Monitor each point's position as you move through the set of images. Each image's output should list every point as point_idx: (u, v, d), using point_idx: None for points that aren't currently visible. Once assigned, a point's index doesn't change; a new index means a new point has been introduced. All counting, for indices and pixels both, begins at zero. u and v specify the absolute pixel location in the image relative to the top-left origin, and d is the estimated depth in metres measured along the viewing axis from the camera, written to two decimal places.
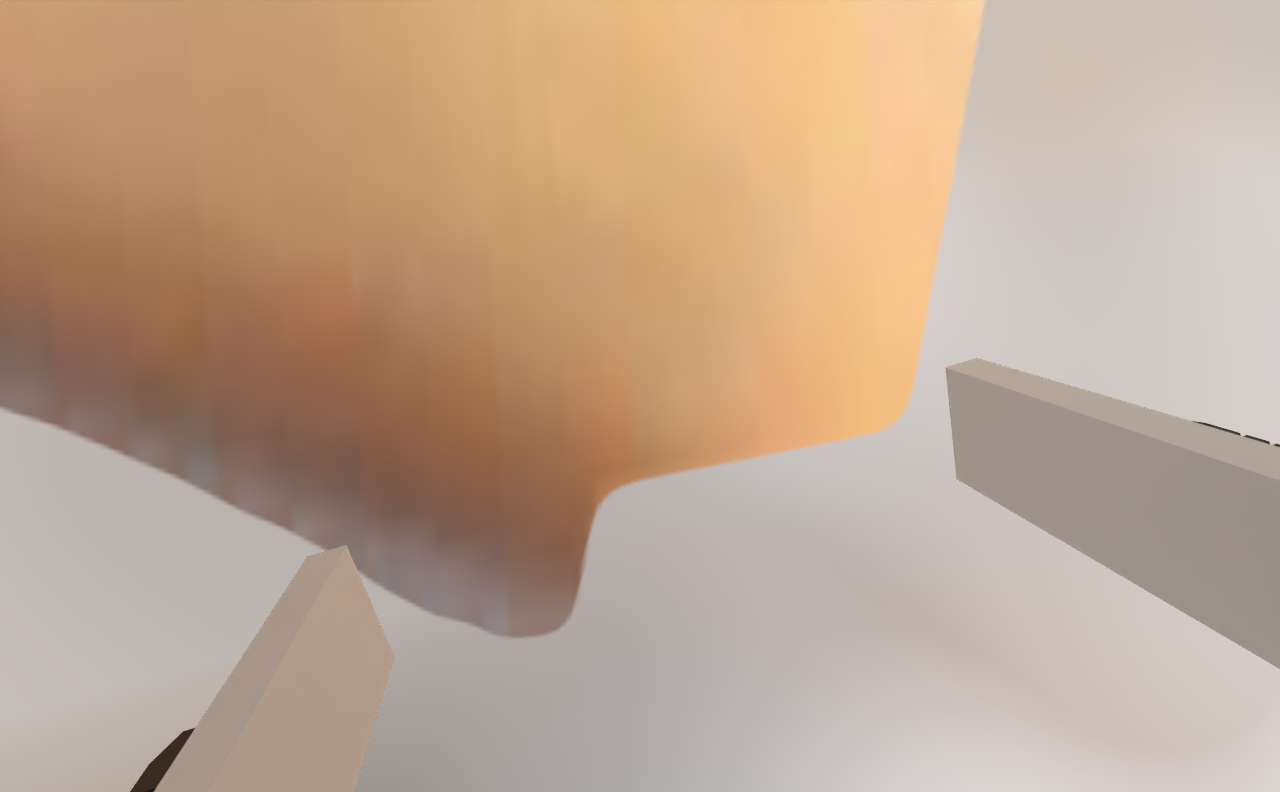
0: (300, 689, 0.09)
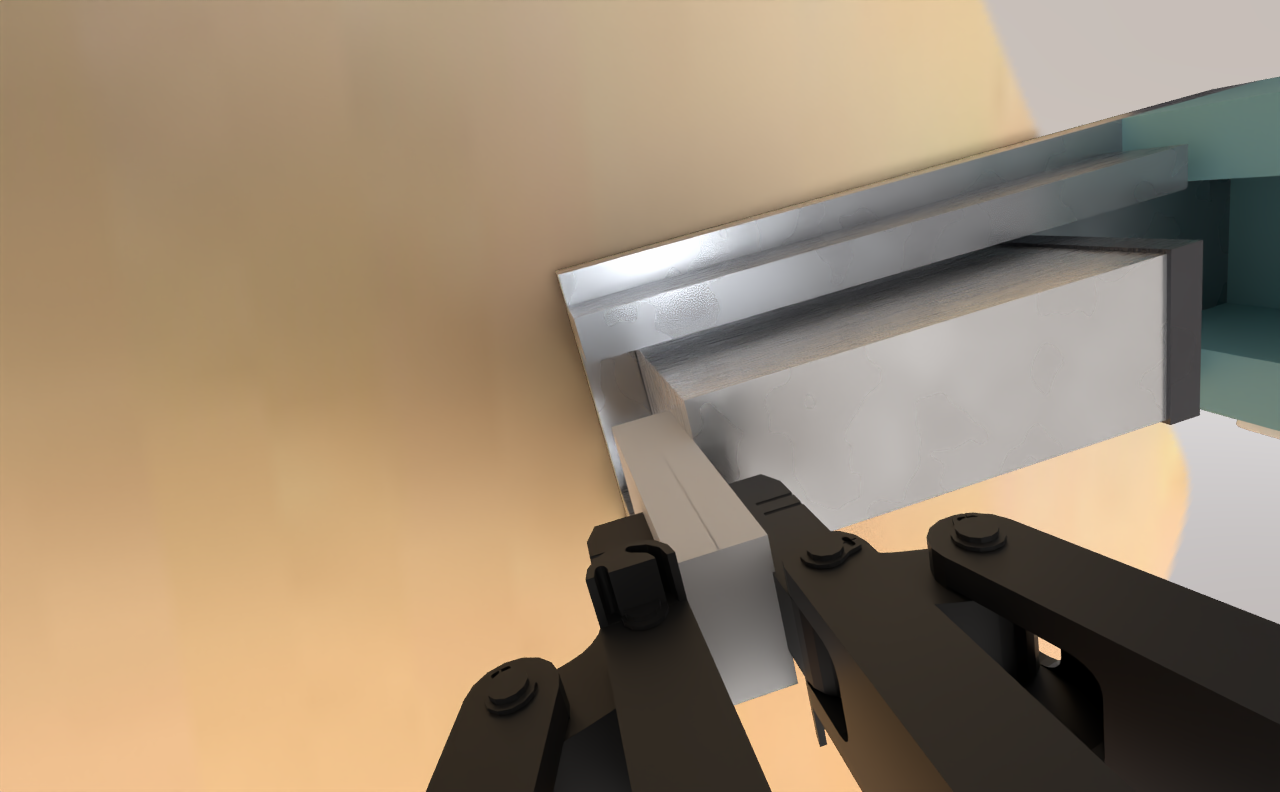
0: None
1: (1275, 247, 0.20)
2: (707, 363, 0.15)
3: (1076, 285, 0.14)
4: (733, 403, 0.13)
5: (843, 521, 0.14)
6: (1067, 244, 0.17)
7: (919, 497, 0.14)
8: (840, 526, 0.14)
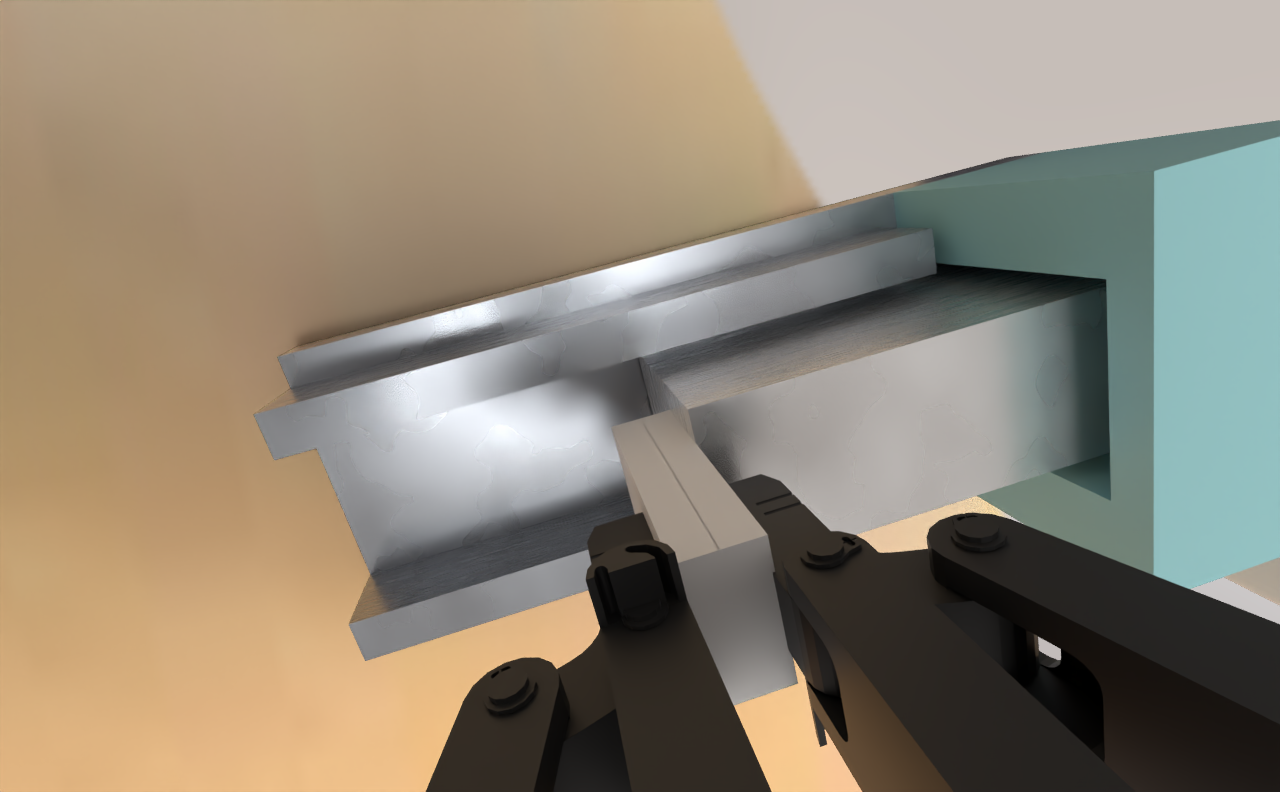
0: None
1: None
2: (711, 371, 0.15)
3: (1081, 297, 0.14)
4: (737, 412, 0.13)
5: (846, 531, 0.14)
6: None
7: (922, 508, 0.14)
8: None
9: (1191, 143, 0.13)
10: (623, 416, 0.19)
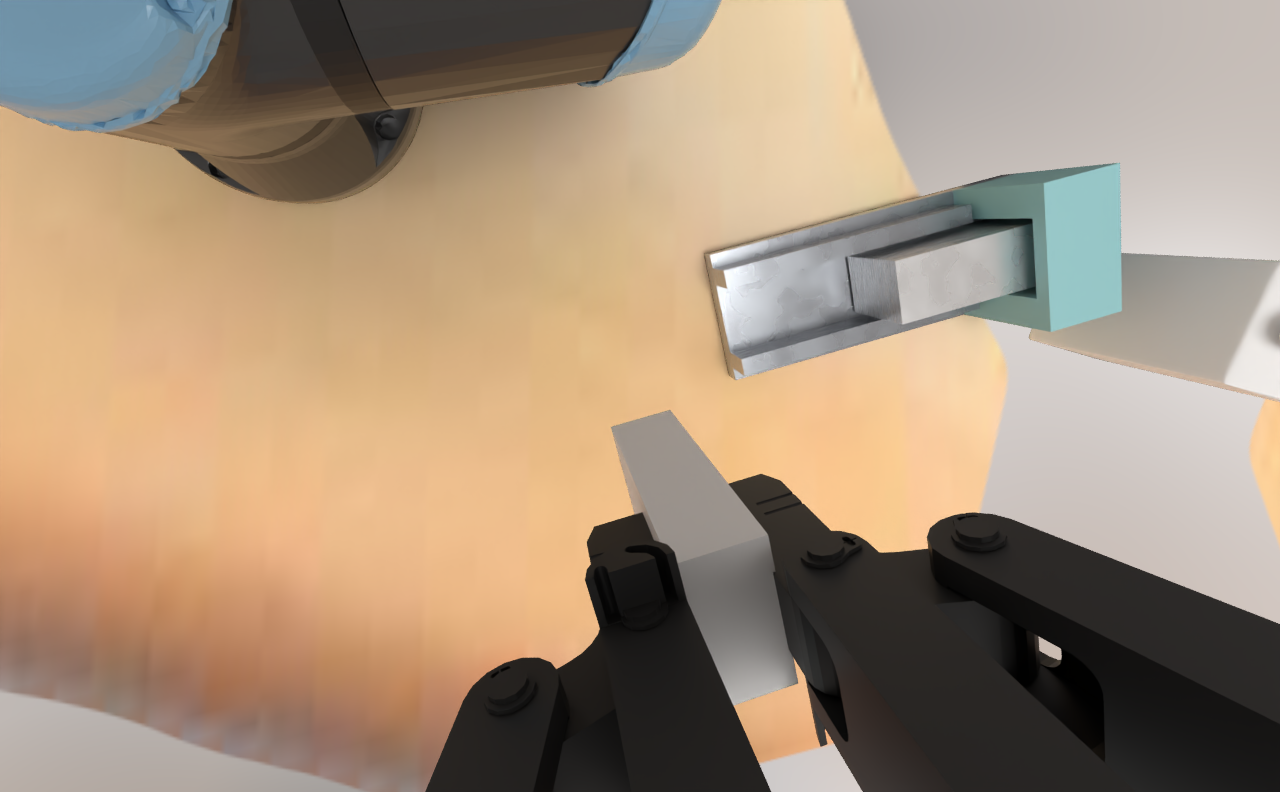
0: None
1: None
2: (893, 255, 0.41)
3: (1027, 226, 0.39)
4: (910, 263, 0.39)
5: (944, 310, 0.40)
6: None
7: (971, 303, 0.40)
8: (942, 312, 0.40)
9: (1062, 173, 0.39)
10: (837, 285, 0.45)
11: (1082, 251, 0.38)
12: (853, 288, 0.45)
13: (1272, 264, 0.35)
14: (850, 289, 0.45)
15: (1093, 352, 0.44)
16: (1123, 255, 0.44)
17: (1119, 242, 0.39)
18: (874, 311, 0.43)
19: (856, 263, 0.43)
